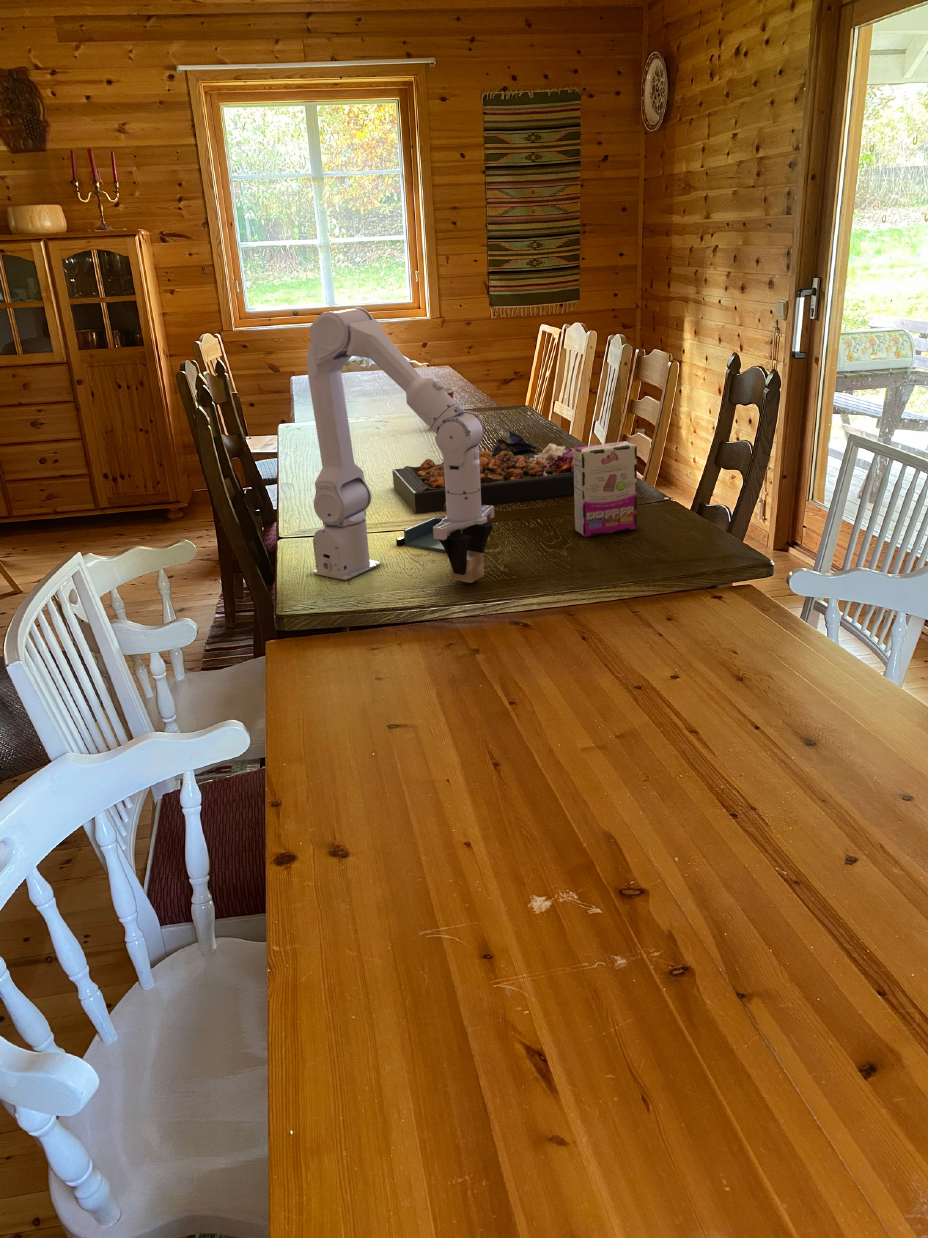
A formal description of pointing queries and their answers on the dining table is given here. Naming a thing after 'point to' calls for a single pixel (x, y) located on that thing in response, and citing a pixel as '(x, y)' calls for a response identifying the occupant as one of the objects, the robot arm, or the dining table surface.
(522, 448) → the snack package
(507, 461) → the food platter
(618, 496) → the candy bar box
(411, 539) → the tray
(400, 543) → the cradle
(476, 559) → the block
